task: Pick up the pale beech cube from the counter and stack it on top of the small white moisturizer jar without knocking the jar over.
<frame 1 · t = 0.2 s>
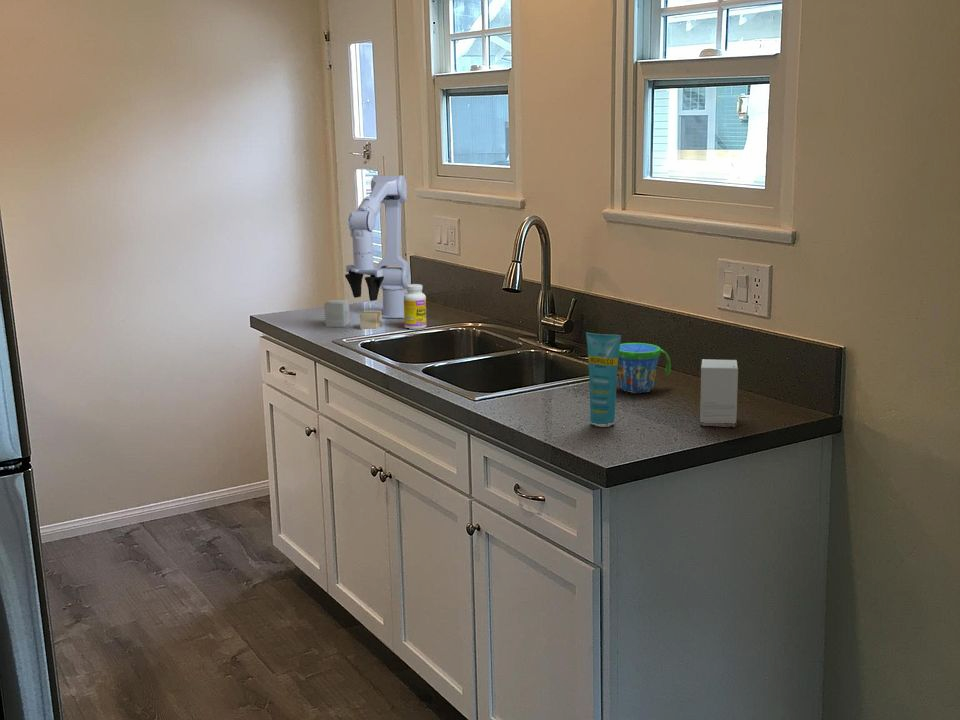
hand: (365, 298, 307), 10 cm above the worktop, tool pointing down, fingers open, 7 cm apart
supplement bottle: (415, 328, 315), on the worktop
supplement box: (717, 423, 216), on the worktop
snack cup: (636, 391, 242), on the worktop
block: (371, 328, 315), on the worktop
tube: (602, 425, 216), on the worktop
skincare box: (337, 325, 321), on the worktop
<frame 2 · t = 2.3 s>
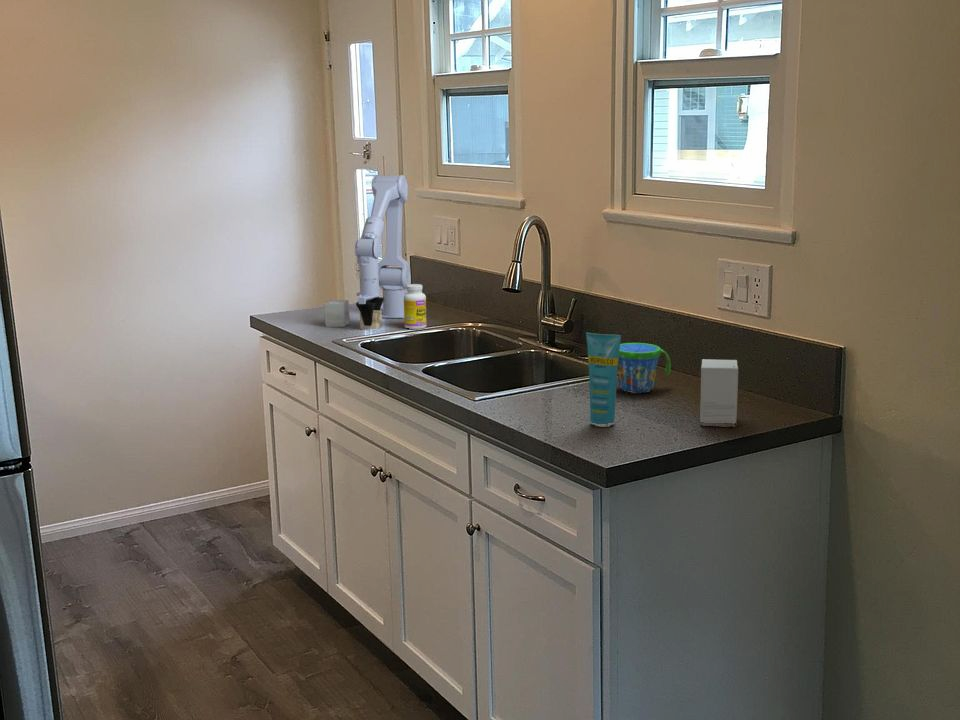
hand: (371, 323, 315), 1 cm above the worktop, tool pointing down, fingers closed on block, 5 cm apart
block: (371, 328, 315), on the worktop, touching gripper
everything else where it was.
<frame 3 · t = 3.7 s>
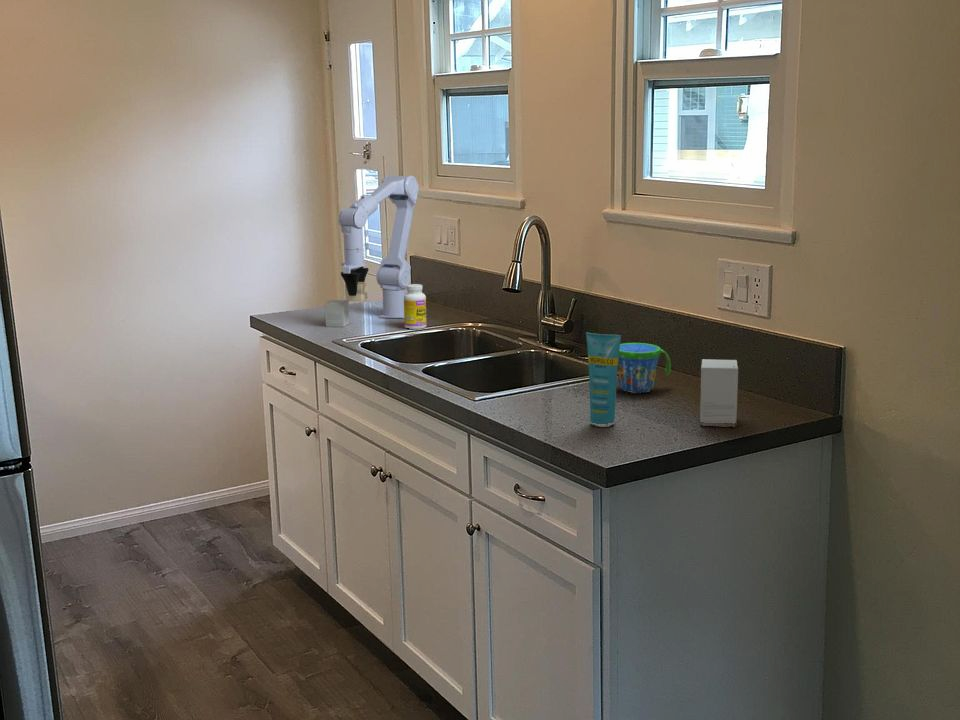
hand: (355, 293, 315), 10 cm above the worktop, tool pointing down, fingers closed on block, 5 cm apart
block: (356, 299, 315), point 8 cm above the worktop, touching gripper
everything else where it was.
when the fingers open (9 cm above the worktop, at t = 5.4 s): block stays where it is, resting on skincare box.
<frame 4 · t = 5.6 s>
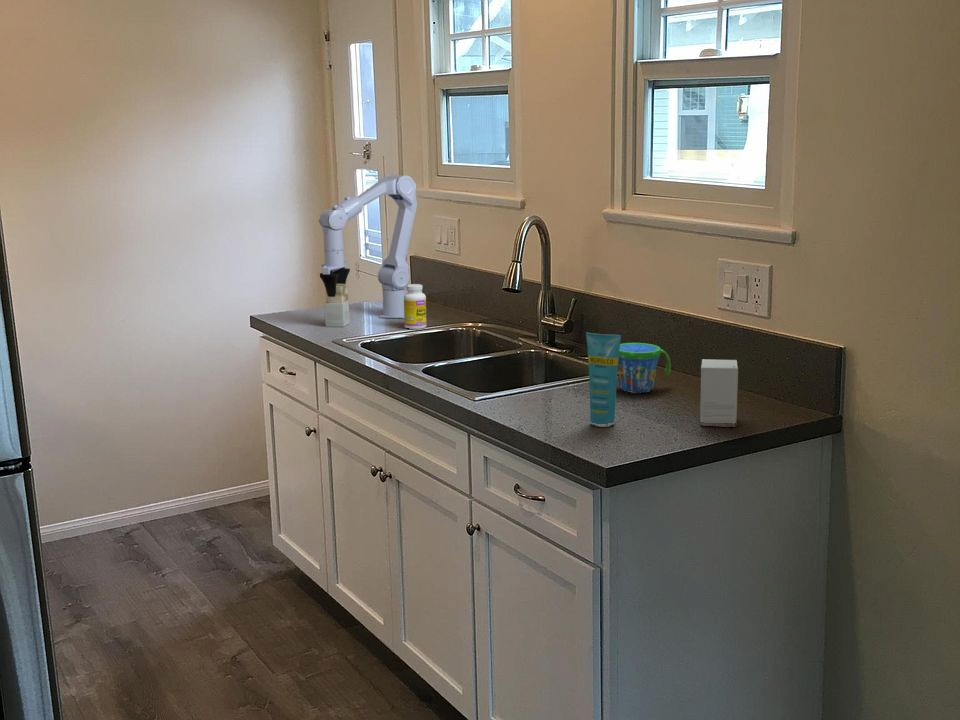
hand: (336, 294, 318), 9 cm above the worktop, tool pointing down, fingers open, 7 cm apart
block: (337, 301, 319), point 7 cm above the worktop, touching skincare box
skincare box: (337, 325, 321), on the worktop, touching block
everything else where it was.
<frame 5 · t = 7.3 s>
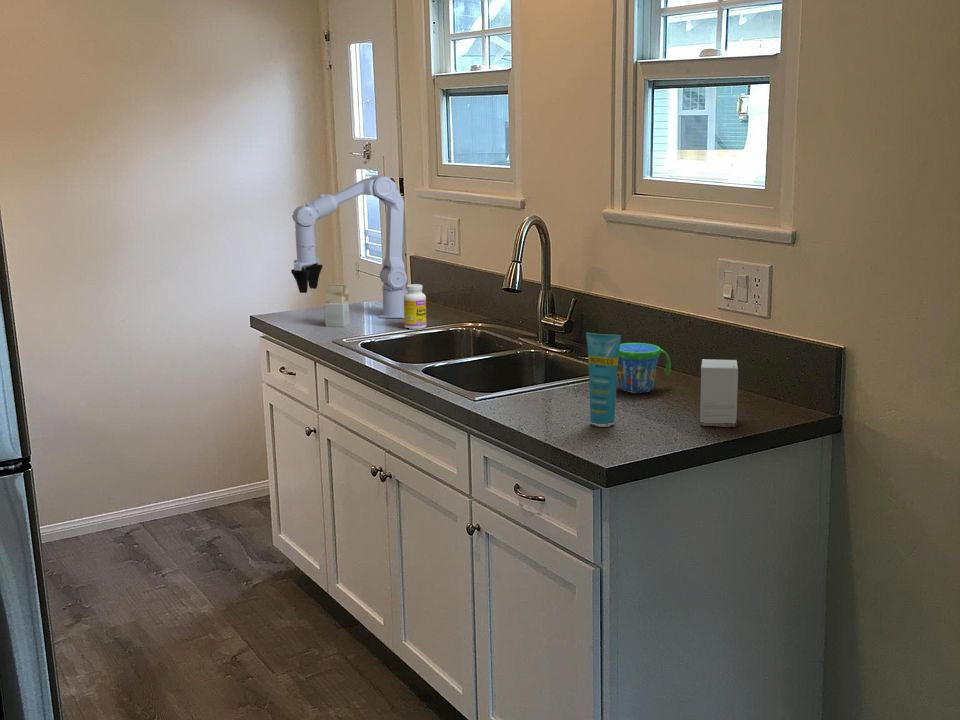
hand: (308, 290, 320), 10 cm above the worktop, tool pointing down, fingers open, 7 cm apart
nothing on the worktop moved.
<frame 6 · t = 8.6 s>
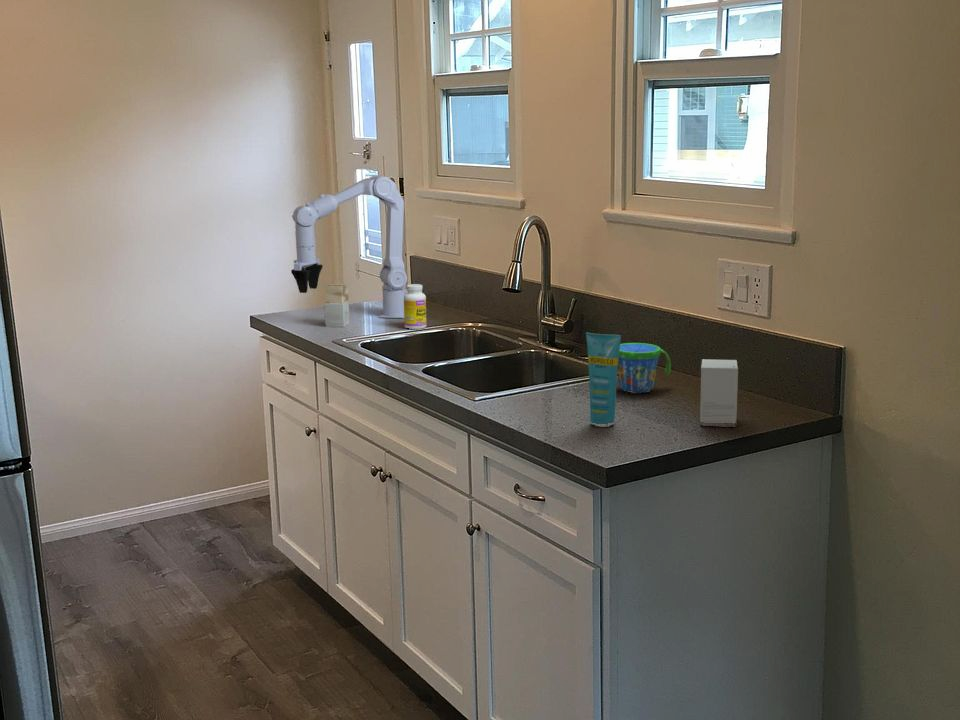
hand: (308, 290, 320), 10 cm above the worktop, tool pointing down, fingers open, 7 cm apart
nothing on the worktop moved.
at the end: block 0.4 cm off-centre on the skincare box, point 7.5 cm above the skincare box's base; block tilted 0°; skincare box tilted 0° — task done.
